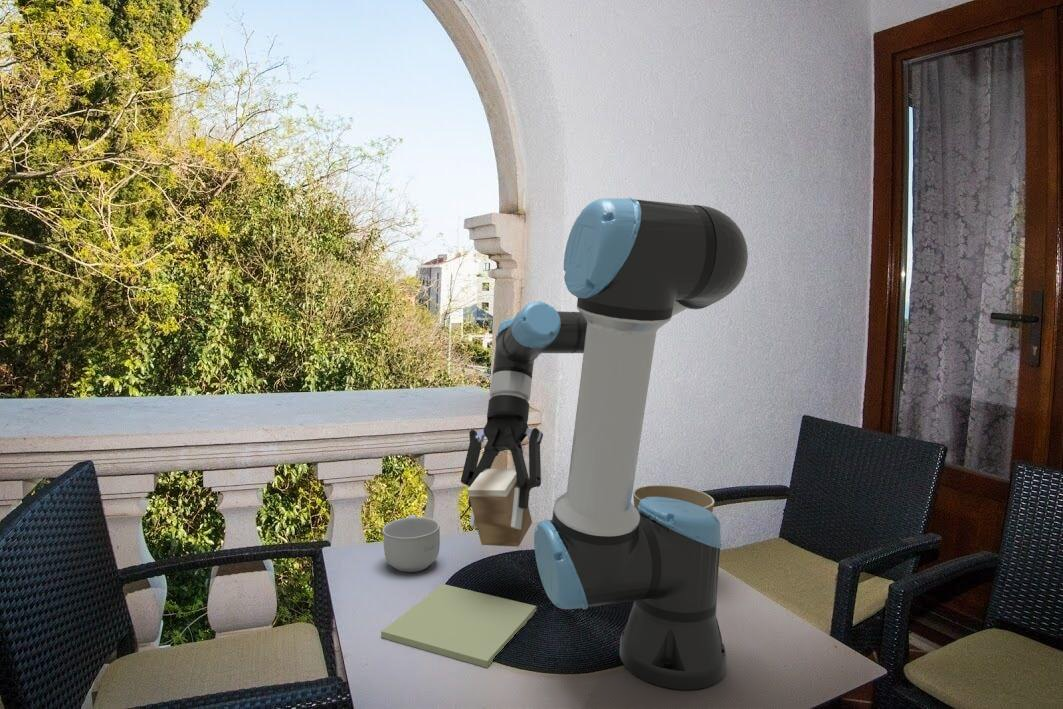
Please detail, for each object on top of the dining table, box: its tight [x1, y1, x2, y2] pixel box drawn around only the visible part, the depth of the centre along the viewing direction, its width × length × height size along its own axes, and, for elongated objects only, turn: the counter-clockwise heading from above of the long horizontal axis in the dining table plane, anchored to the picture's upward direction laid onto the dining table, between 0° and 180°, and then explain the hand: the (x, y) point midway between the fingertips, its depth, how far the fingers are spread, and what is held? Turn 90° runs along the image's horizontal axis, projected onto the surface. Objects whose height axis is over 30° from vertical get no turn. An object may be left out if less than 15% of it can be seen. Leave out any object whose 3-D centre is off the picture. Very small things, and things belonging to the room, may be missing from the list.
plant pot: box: [632, 484, 715, 513], centre depth 121 cm, size 15×15×16 cm
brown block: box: [466, 468, 533, 548], centre depth 111 cm, size 7×7×11 cm
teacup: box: [381, 514, 441, 573], centre depth 124 cm, size 14×11×8 cm
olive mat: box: [380, 583, 537, 668], centre depth 102 cm, size 18×18×1 cm
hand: (495, 527), depth 108 cm, fingers closed on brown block, 7 cm apart
